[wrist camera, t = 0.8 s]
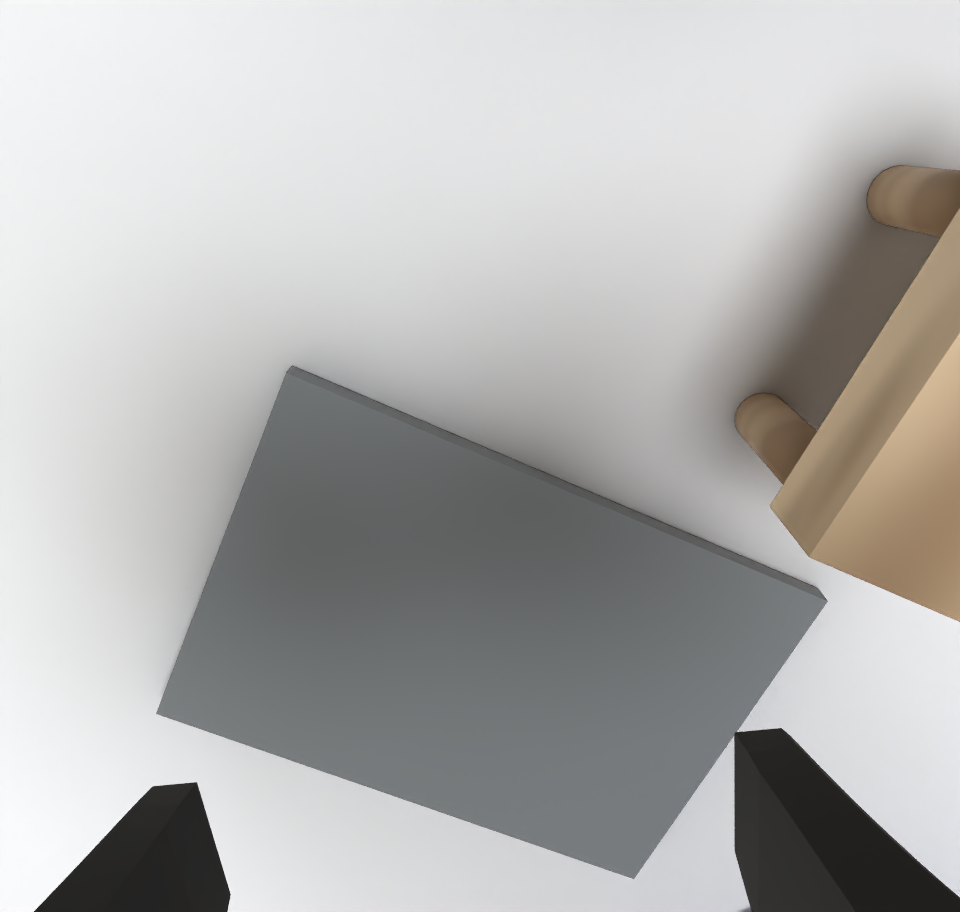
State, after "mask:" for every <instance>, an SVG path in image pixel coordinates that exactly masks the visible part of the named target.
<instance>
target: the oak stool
mask: <svg viewBox="0 0 960 912" xmlns="http://www.w3.org/2000/svg"><path fill="white" fill-rule="evenodd" d="M867 206H868V210H869V212H870V214H871V216H872V217H873V218H874V219H875V220H876V221H878V222H879V223H882V224H885V225H889V226H893V227H898V228H902V229H906V230H910V231H915V232H919V233H923V234H927V235H932V236H936V237H940V240H939V241H938V243H937V245H936V246H935V248H934V249H933V251H932V252H931V254H930V256H929V257H928V259H927V260H926V262H925V263H924V265H923V266H922V268H921V270H920V271H919V273H918V274H917V276H916V277H915V279H914V281H913V282H912V284H911V285H910V287H909V288H908V290H907V292H906V293H905V295H904V296H903V298H902V299H901V301H900V303H899V304H898V306H897V307H896V309H895V310H894V312H893V313H892V315H891V317H890V318H889V320H888V321H887V323H886V324H885V326H884V328H883V329H882V331H881V332H880V334H879V335H878V337H877V339H876V340H875V342H874V343H873V345H872V346H871V348H870V350H869V351H868V353H867V354H866V356H865V357H864V359H863V361H862V362H861V364H860V365H859V367H858V368H857V370H856V371H855V373H854V375H853V376H852V378H851V379H850V381H849V382H848V384H847V386H846V387H845V389H844V390H843V392H842V393H841V395H840V397H839V398H838V400H837V401H836V403H835V404H834V406H833V408H832V409H831V411H830V412H829V414H828V415H827V417H826V418H825V420H824V422H823V423H822V425H821V426H820V428H819V429H818V431H816V430H815V429H814V428H812V427H811V426H810V425H809V424H808V423H807V422H806V421H805V420H803V419H802V418H801V417H800V416H799V415H798V414H797V413H796V412H794V411H793V410H792V409H791V408H790V407H789V406H788V405H787V404H785V403H784V402H783V401H782V400H781V399H780V398H779V397H777V396H775V395H773V394H770V393H758V394H755V395H752V396H750V397H748V398H747V399H746V400H744V401H743V402H742V403H741V405H740V406H739V408H738V409H737V412H736V415H735V426H736V429H737V431H738V432H739V434H740V435H741V436H742V437H743V439H744V440H745V441H746V442H747V443H748V444H749V446H750V447H751V448H752V449H753V450H754V451H755V452H756V454H757V455H758V456H759V457H760V458H761V459H762V461H763V462H764V463H765V464H766V465H767V466H768V468H769V469H770V470H771V471H772V472H773V473H774V475H775V476H776V477H777V478H778V479H779V480H780V481H781V483H782V484H783V486H782V487H781V489H780V491H779V492H778V494H777V495H776V497H775V498H774V500H773V502H772V503H771V505H770V508H771V509H772V510H773V511H774V513H775V514H776V515H777V517H778V518H779V519H780V520H781V522H782V523H783V524H784V526H785V527H786V528H787V529H788V531H789V532H790V533H791V535H792V536H793V537H794V539H795V540H796V541H797V542H798V544H799V545H800V546H801V548H802V549H803V550H804V551H805V553H806V554H807V555H808V557H810V558H812V559H815V560H817V561H819V562H822V563H824V564H826V565H829V566H831V567H833V568H836V569H838V570H840V571H843V572H845V573H847V574H850V575H852V576H854V577H857V578H859V579H861V580H864V581H866V582H868V583H871V584H873V585H875V586H878V587H880V588H882V589H885V590H887V591H889V592H892V593H894V594H896V595H899V596H901V597H903V598H905V599H908V600H910V601H912V602H915V603H917V604H919V605H922V606H924V607H926V608H929V609H931V610H933V611H936V612H938V613H940V614H943V615H945V616H947V617H950V618H952V619H954V620H957V621H959V622H960V170H948V169H936V168H925V167H913V166H894V167H891V168H888V169H886V170H885V171H883V172H882V173H880V174H879V175H878V176H877V177H876V178H875V180H874V181H873V182H872V184H871V186H870V188H869V191H868V195H867Z"/></svg>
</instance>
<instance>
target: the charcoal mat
mask: <svg viewBox="0 0 960 912" xmlns="http://www.w3.org/2000/svg"><path fill="white" fill-rule="evenodd" d="M826 603H827V600H826V598H825V597H824V596H823V594H822V593H821V591H820V590H819V589H818V588H816V587H813V586H811V585H809V584H806V583H804V582H802V581H799V580H797V579H795V578H792V577H790V576H788V575H785V574H783V573H780V572H778V571H776V570H773V569H771V568H769V567H766V566H764V565H762V564H759V563H757V562H754V561H752V560H750V559H747V558H745V557H743V556H740V555H738V554H736V553H733V552H731V551H728V550H726V549H724V548H721V547H719V546H717V545H714V544H712V543H710V542H707V541H705V540H702V539H700V538H698V537H695V536H693V535H691V534H688V533H686V532H684V531H681V530H679V529H676V528H674V527H672V526H669V525H667V524H665V523H662V522H660V521H658V520H655V519H653V518H650V517H648V516H646V515H643V514H641V513H639V512H636V511H634V510H632V509H629V508H627V507H625V506H622V505H620V504H617V503H615V502H613V501H610V500H608V499H606V498H603V497H601V496H599V495H596V494H594V493H591V492H589V491H587V490H584V489H582V488H580V487H577V486H575V485H573V484H570V483H568V482H565V481H563V480H561V479H558V478H556V477H554V476H551V475H549V474H547V473H544V472H542V471H539V470H537V469H535V468H532V467H530V466H528V465H525V464H523V463H521V462H518V461H516V460H513V459H511V458H509V457H506V456H504V455H502V454H499V453H497V452H495V451H492V450H490V449H487V448H485V447H483V446H480V445H478V444H476V443H473V442H471V441H469V440H466V439H464V438H462V437H459V436H457V435H454V434H452V433H450V432H447V431H445V430H443V429H440V428H438V427H436V426H433V425H431V424H428V423H426V422H424V421H421V420H419V419H417V418H414V417H412V416H410V415H407V414H405V413H402V412H400V411H398V410H395V409H393V408H391V407H388V406H386V405H384V404H381V403H379V402H376V401H374V400H372V399H369V398H367V397H365V396H362V395H360V394H358V393H355V392H353V391H350V390H348V389H346V388H343V387H341V386H339V385H336V384H334V383H332V382H329V381H327V380H324V379H322V378H320V377H317V376H315V375H313V374H310V373H308V372H306V371H303V370H301V369H299V368H296V367H294V366H291V368H290V369H289V370H288V371H287V373H286V375H285V378H284V380H283V383H282V385H281V388H280V391H279V393H278V396H277V399H276V401H275V404H274V406H273V409H272V412H271V414H270V417H269V420H268V422H267V425H266V427H265V430H264V433H263V435H262V438H261V440H260V443H259V446H258V448H257V451H256V454H255V456H254V459H253V461H252V464H251V467H250V469H249V472H248V475H247V477H246V480H245V482H244V485H243V488H242V490H241V493H240V496H239V498H238V501H237V503H236V506H235V509H234V511H233V514H232V516H231V519H230V522H229V524H228V527H227V530H226V532H225V535H224V537H223V540H222V543H221V545H220V548H219V551H218V553H217V556H216V558H215V561H214V564H213V566H212V569H211V571H210V574H209V577H208V579H207V582H206V585H205V587H204V590H203V592H202V595H201V598H200V600H199V603H198V606H197V608H196V611H195V613H194V616H193V619H192V621H191V624H190V627H189V629H188V632H187V634H186V637H185V640H184V642H183V645H182V647H181V650H180V653H179V655H178V658H177V661H176V663H175V666H174V668H173V671H172V674H171V676H170V679H169V682H168V684H167V687H166V689H165V692H164V695H163V697H162V700H161V702H160V705H159V708H158V710H157V713H156V714H158V715H161V716H164V717H167V718H170V719H173V720H176V721H179V722H182V723H184V724H187V725H190V726H193V727H196V728H199V729H202V730H205V731H208V732H210V733H213V734H216V735H219V736H222V737H225V738H228V739H231V740H234V741H236V742H239V743H242V744H245V745H248V746H251V747H254V748H257V749H260V750H262V751H265V752H268V753H271V754H274V755H277V756H280V757H283V758H286V759H288V760H291V761H294V762H297V763H300V764H303V765H306V766H309V767H312V768H314V769H317V770H320V771H323V772H326V773H329V774H332V775H335V776H338V777H340V778H343V779H346V780H349V781H352V782H355V783H358V784H361V785H364V786H367V787H369V788H372V789H375V790H378V791H381V792H384V793H387V794H390V795H393V796H395V797H398V798H401V799H404V800H407V801H410V802H413V803H416V804H419V805H421V806H424V807H427V808H430V809H433V810H436V811H439V812H442V813H445V814H447V815H450V816H453V817H456V818H459V819H462V820H465V821H468V822H471V823H473V824H476V825H479V826H482V827H485V828H488V829H491V830H494V831H497V832H499V833H502V834H505V835H508V836H511V837H514V838H517V839H520V840H523V841H525V842H528V843H531V844H534V845H537V846H540V847H543V848H546V849H549V850H552V851H554V852H557V853H560V854H563V855H566V856H569V857H572V858H575V859H578V860H580V861H583V862H586V863H589V864H592V865H595V866H598V867H601V868H604V869H606V870H609V871H612V872H615V873H618V874H621V875H624V876H627V877H630V878H632V879H634V878H635V877H636V875H637V874H638V872H639V871H640V869H641V868H642V867H643V865H644V864H645V862H646V861H647V859H648V858H649V856H650V855H651V854H652V852H653V851H654V849H655V848H656V846H657V845H658V844H659V842H660V841H661V839H662V838H663V836H664V835H665V834H666V832H667V831H668V829H669V828H670V826H671V825H672V824H673V822H674V821H675V819H676V818H677V816H678V815H679V813H680V812H681V811H682V809H683V808H684V806H685V805H686V803H687V802H688V801H689V799H690V798H691V796H692V795H693V793H694V792H695V791H696V789H697V788H698V786H699V785H700V783H701V782H702V781H703V779H704V778H705V776H706V775H707V773H708V772H709V770H710V769H711V768H712V766H713V765H714V763H715V762H716V760H717V759H718V758H719V756H720V755H721V753H722V752H723V750H724V749H725V748H726V746H727V745H728V743H729V742H730V740H731V739H732V738H733V736H734V733H735V732H737V730H738V729H739V728H740V726H741V725H742V723H743V722H744V720H745V719H746V717H747V716H748V715H749V713H750V712H751V710H752V709H753V707H754V706H755V705H756V703H757V702H758V700H759V699H760V697H761V696H762V695H763V693H764V692H765V690H766V689H767V687H768V686H769V685H770V683H771V682H772V680H773V679H774V677H775V676H776V674H777V673H778V672H779V670H780V669H781V667H782V666H783V664H784V663H785V662H786V660H787V659H788V657H789V656H790V654H791V653H792V652H793V650H794V649H795V647H796V646H797V644H798V643H799V642H800V640H801V639H802V637H803V636H804V634H805V633H806V631H807V630H808V629H809V627H810V626H811V624H812V623H813V621H814V620H815V619H816V617H817V616H818V614H819V613H820V611H821V610H822V609H823V607H824V606H825V604H826Z"/></svg>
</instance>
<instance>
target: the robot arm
mask: <svg viewBox="0 0 960 912" xmlns="http://www.w3.org/2000/svg"><path fill="white" fill-rule="evenodd" d="M734 742H735V853H736V857H737V861H738V864H739V868H740V871H741V875H742V879H743V882H744V886H745V889H746V893H747V896H748V900H749V903H750V907H751V910H752V912H960V897H959V896H957V895H956V894H955V893H954V892H953V891H951V890H950V889H949V888H948V887H947V886H946V885H944V884H943V883H942V882H941V881H940V880H939V879H938V878H936V877H935V876H934V875H933V874H932V873H931V872H930V871H929V870H927V869H926V868H925V867H924V866H923V865H922V864H921V863H920V862H918V861H917V860H916V859H915V858H914V857H913V856H912V855H911V854H910V853H909V852H908V851H907V850H905V849H904V848H903V847H902V846H901V845H900V844H899V843H898V842H897V841H896V840H895V839H894V838H892V837H891V836H890V835H889V834H888V833H887V832H886V831H885V830H884V829H883V828H882V827H881V826H880V825H878V824H877V823H876V822H875V821H874V820H873V819H872V818H871V817H870V816H869V815H868V814H867V813H866V812H865V811H864V810H863V809H862V808H861V807H860V806H859V805H858V804H857V803H856V802H855V801H854V800H853V799H852V798H851V797H850V796H849V795H848V794H847V793H846V792H845V791H844V790H843V789H842V788H841V787H840V786H839V785H838V784H837V783H836V782H835V781H834V780H833V779H832V778H831V777H830V776H829V775H828V774H827V773H826V772H825V771H824V770H823V769H822V768H821V767H820V766H819V765H818V764H817V763H816V762H815V761H814V760H813V759H812V758H811V757H810V756H809V755H808V754H807V753H806V752H805V751H804V750H803V748H802V747H801V746H800V745H799V744H798V743H797V742H796V741H795V740H794V739H793V738H792V737H791V736H790V735H789V734H788V733H787V732H785V731H784V730H783V729H782V728H778V729H768V730H757V731H746V732H735V733H734ZM230 895H231V894H230V891H229V888H228V884H227V881H226V878H225V875H224V871H223V868H222V865H221V861H220V858H219V855H218V851H217V848H216V845H215V841H214V838H213V835H212V831H211V828H210V825H209V821H208V818H207V815H206V811H205V808H204V805H203V801H202V798H201V795H200V791H199V788H198V785H197V782H195V783H184V784H174V785H163V786H153V787H152V788H151V789H150V790H149V791H148V792H147V793H146V794H145V795H144V796H143V797H142V798H141V799H140V800H139V801H138V802H137V803H136V804H135V805H134V806H133V807H132V808H131V809H130V810H129V811H128V812H127V814H126V815H125V816H124V817H123V818H122V819H121V820H120V821H119V822H118V823H117V824H116V825H115V826H114V827H113V829H112V830H111V831H110V832H109V833H108V834H107V835H106V836H105V837H104V838H103V839H102V840H101V841H100V843H99V844H98V845H97V846H96V847H95V848H94V849H93V850H92V851H91V852H90V853H89V854H88V855H87V856H86V858H85V859H84V860H83V861H82V862H81V863H80V864H79V865H78V866H77V867H76V868H75V869H74V870H73V871H72V872H71V873H70V874H69V876H68V877H67V878H66V879H65V880H64V881H63V882H62V883H61V884H60V885H59V886H58V887H57V888H56V889H55V890H54V891H53V892H52V893H51V894H50V895H49V896H48V897H47V899H46V900H45V901H44V902H43V903H42V904H41V905H40V906H39V907H38V908H37V909H36V910H35V911H34V912H227V910H228V905H229V900H230Z"/></svg>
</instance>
